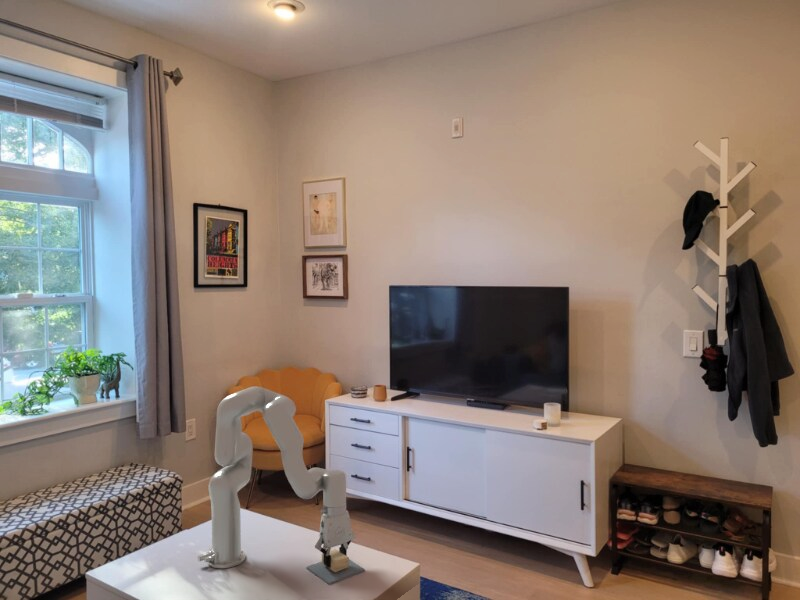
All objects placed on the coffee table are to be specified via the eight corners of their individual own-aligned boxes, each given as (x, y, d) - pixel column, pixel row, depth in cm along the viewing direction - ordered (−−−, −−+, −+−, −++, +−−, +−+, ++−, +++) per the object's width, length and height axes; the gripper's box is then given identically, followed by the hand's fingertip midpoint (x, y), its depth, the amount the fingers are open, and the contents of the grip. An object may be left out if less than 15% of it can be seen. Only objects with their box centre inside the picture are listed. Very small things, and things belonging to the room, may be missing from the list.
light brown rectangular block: (321, 563, 195) (321, 553, 195) (335, 558, 198) (335, 548, 198) (334, 572, 189) (334, 562, 188) (348, 566, 192) (348, 557, 192)
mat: (329, 584, 184) (328, 583, 184) (306, 568, 194) (306, 566, 194) (364, 571, 192) (364, 569, 192) (341, 556, 203) (341, 554, 203)
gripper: (318, 519, 185) (319, 575, 185) (362, 506, 196) (362, 559, 196) (306, 512, 190) (307, 567, 191) (349, 499, 201) (350, 551, 202)
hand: (335, 562), depth 193 cm, fingers closed on light brown rectangular block, 5 cm apart
